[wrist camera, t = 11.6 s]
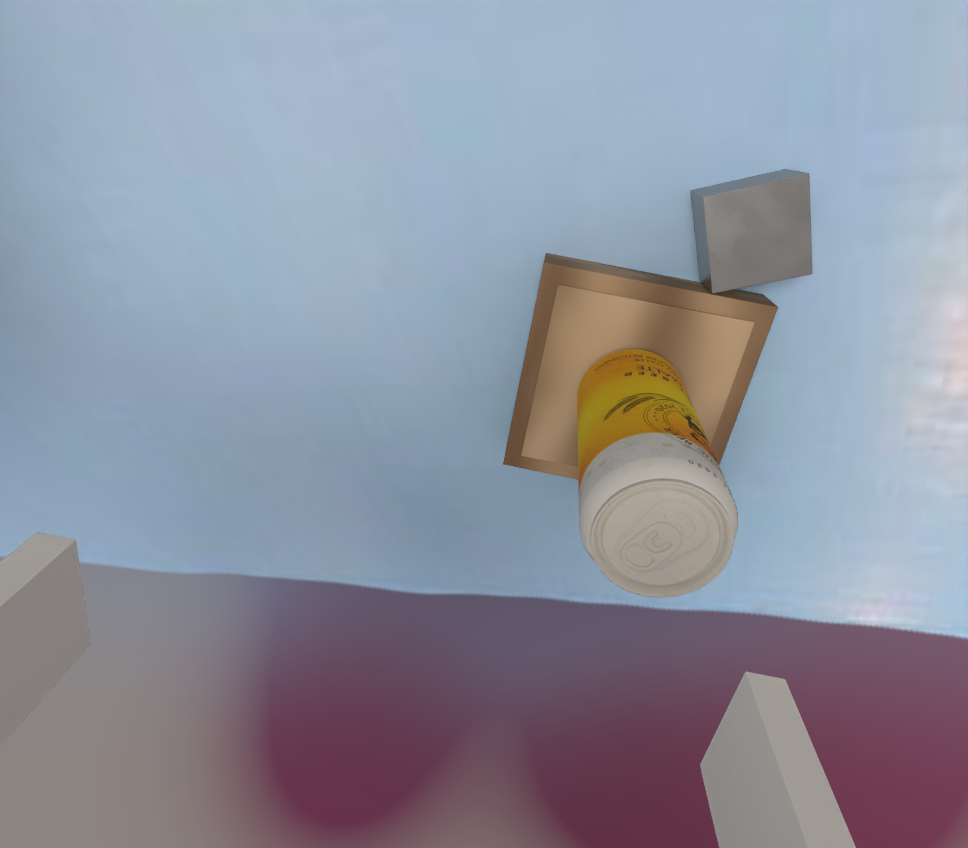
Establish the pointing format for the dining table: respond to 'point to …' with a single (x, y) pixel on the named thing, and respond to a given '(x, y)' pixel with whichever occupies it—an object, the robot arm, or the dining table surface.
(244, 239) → the dining table surface
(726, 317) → the plinth
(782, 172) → the steel block
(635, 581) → the beer can
